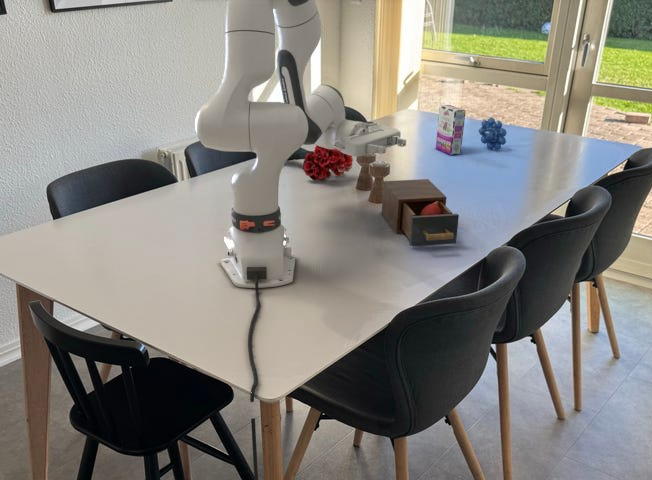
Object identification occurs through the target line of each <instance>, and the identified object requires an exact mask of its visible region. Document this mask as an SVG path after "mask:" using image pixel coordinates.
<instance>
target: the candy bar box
mask: <svg viewBox="0 0 652 480" xmlns="http://www.w3.org/2000/svg"><path fill="white" fill-rule="evenodd" d="M465 120H466V109H463V108H460V107H457V106H454V105H451V104H443V105H439V109H438V118H437V121H438V122H437V131H436V141H435V149H436V150H438V151H440V152H441V153H442V152H443V153H444V154H446V155H449V156H459V155H461V154H462V146H463V138H464V129H465Z"/></svg>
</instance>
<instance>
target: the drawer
mask: <svg viewBox="0 0 652 480" xmlns="http://www.w3.org/2000/svg"><path fill="white" fill-rule="evenodd" d="M435 202H436V201H419V202H401V217H400V227H401V229H402V230H403V231H404V233H403V234H405V235H406V237H407V238H408V239H409V246H410V247H418V246H419V247H420V246H433V245H450V244H451V245H452V244H456V243H457V237H458V227H459V218H460V215H459V213H453V212H452V211H451V209H449V207H448V206H447V205H446V206H445V205H444V204H443V203H442V202H441V201H440V200H438V206H439V208H440V209H441V212H442V215H425V216H420V215H421V212H422V210H423V209H424V208H425V207H426V206H428V205H429V204H432V203H435Z"/></svg>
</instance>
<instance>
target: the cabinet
mask: <svg viewBox="0 0 652 480" xmlns="http://www.w3.org/2000/svg"><path fill="white" fill-rule="evenodd" d="M381 197H382V199H381V214H382V216H383V217H384V218H385V220H386V221H387V223H388V224H389V225H390V227H391V228H392V230H393V231H394V232H395V234H405V233H404V231H403V230H402V229H401V227H400V217H401V202H419V201H438V200H440V201H441V202H442V203H443V204H444V205H445V206H446V207H447V196H446V195H445V194H444V193H443V192H442V190H440V189H439V188H438V187H437V186H436V185H435V184H434V183H433V182H432V181H431V180H430V179H429V178H422V179H402V180H400V179H399V180H398V179H397V180H383V181H382V196H381Z"/></svg>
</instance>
